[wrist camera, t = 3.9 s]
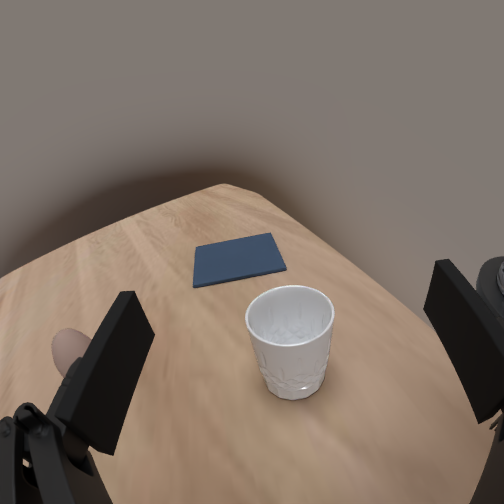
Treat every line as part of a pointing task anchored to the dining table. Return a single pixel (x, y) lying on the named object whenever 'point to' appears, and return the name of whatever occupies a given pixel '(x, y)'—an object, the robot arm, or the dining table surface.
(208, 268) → the glassware mat
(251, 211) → the dining table surface
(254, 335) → the white cup
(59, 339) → the egg
